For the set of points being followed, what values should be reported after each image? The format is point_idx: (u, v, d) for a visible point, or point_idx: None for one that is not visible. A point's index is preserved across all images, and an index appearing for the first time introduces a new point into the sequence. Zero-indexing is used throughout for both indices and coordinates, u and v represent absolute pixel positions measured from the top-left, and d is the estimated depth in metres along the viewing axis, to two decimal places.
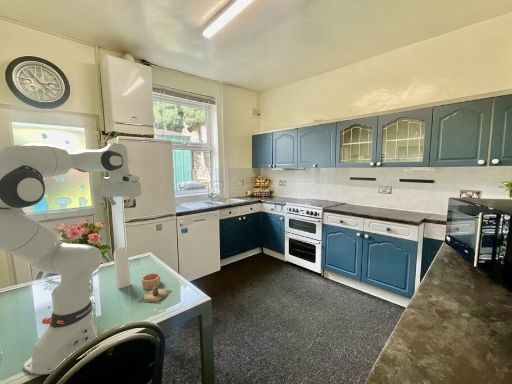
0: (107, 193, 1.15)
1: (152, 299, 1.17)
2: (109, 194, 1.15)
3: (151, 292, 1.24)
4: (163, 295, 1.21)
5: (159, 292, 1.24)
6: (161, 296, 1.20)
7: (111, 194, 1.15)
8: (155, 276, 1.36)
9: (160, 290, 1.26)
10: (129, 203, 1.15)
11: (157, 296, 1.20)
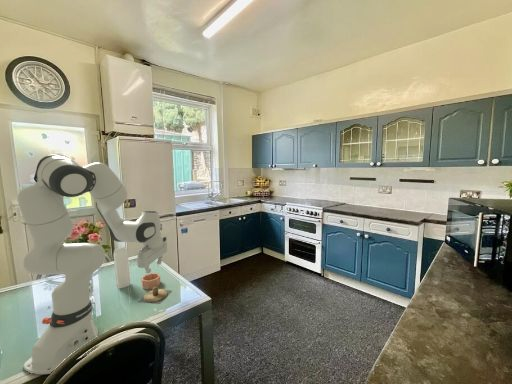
0: (149, 261, 1.13)
1: (152, 299, 1.17)
2: (150, 261, 1.14)
3: (151, 292, 1.24)
4: (163, 295, 1.21)
5: (159, 292, 1.24)
6: (161, 296, 1.20)
7: (152, 260, 1.15)
8: (155, 276, 1.36)
9: (160, 290, 1.26)
10: (160, 261, 1.25)
11: (157, 296, 1.20)
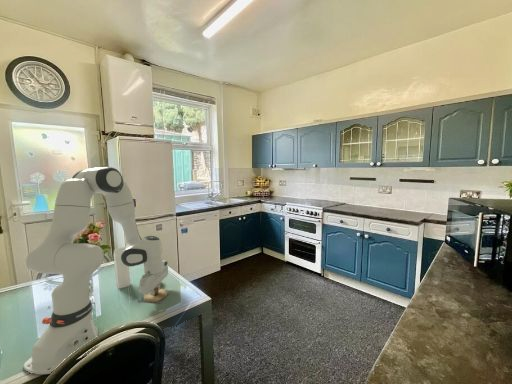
0: (151, 287, 1.15)
1: (152, 299, 1.17)
2: (152, 287, 1.16)
3: None
4: (163, 295, 1.21)
5: (159, 292, 1.24)
6: (161, 296, 1.20)
7: (153, 286, 1.17)
8: None
9: (160, 290, 1.26)
10: (159, 288, 1.23)
11: (157, 296, 1.20)
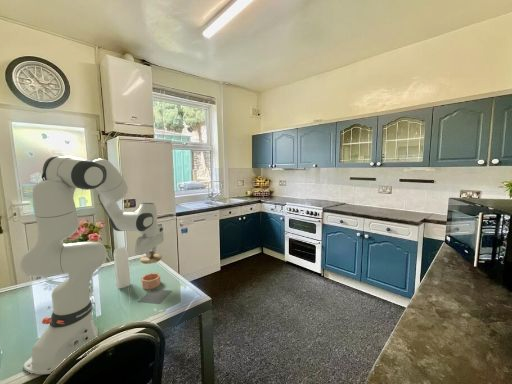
0: (146, 248, 1.23)
1: (148, 261, 1.25)
2: (147, 249, 1.24)
3: None
4: (158, 258, 1.29)
5: (154, 256, 1.32)
6: (156, 259, 1.28)
7: (149, 248, 1.25)
8: (155, 276, 1.36)
9: (156, 254, 1.33)
10: (154, 252, 1.31)
11: (152, 259, 1.28)
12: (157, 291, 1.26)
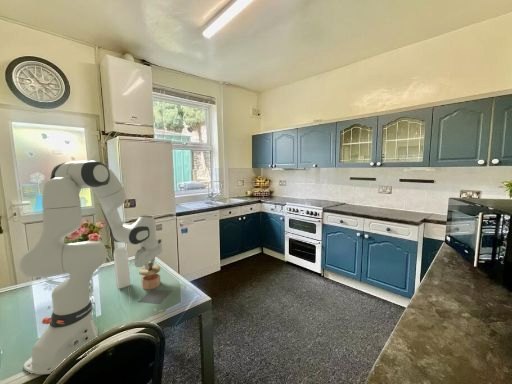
0: (145, 261, 1.25)
1: (146, 273, 1.28)
2: (146, 261, 1.26)
3: None
4: (157, 270, 1.31)
5: (153, 267, 1.34)
6: (155, 271, 1.30)
7: (148, 261, 1.27)
8: (155, 276, 1.36)
9: (154, 266, 1.36)
10: (153, 263, 1.34)
11: (151, 270, 1.30)
12: (157, 291, 1.26)
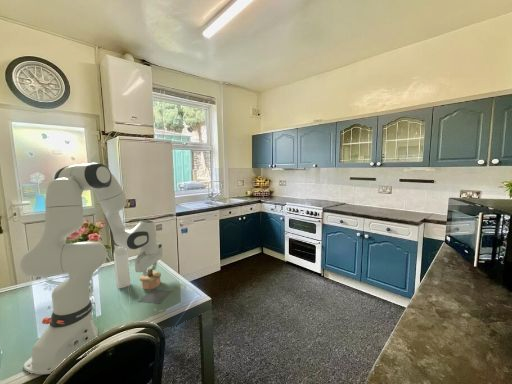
0: (146, 266, 1.25)
1: (147, 279, 1.28)
2: (147, 266, 1.26)
3: None
4: (157, 276, 1.31)
5: (154, 274, 1.34)
6: (155, 277, 1.31)
7: (148, 265, 1.27)
8: None
9: (155, 272, 1.36)
10: (155, 267, 1.36)
11: (152, 277, 1.31)
12: (157, 291, 1.26)
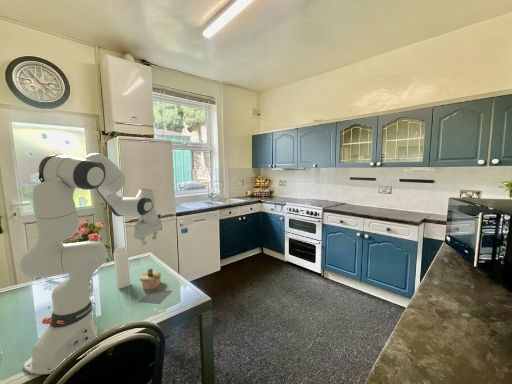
0: (145, 233, 1.26)
1: (147, 279, 1.28)
2: (146, 234, 1.27)
3: (146, 274, 1.34)
4: (157, 276, 1.31)
5: (154, 274, 1.34)
6: (155, 277, 1.31)
7: (147, 234, 1.28)
8: None
9: (155, 272, 1.36)
10: (155, 237, 1.37)
11: (152, 277, 1.31)
12: (157, 291, 1.26)
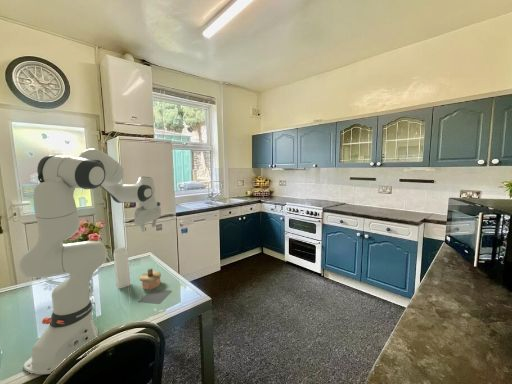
0: (145, 220, 1.29)
1: (147, 279, 1.28)
2: (146, 221, 1.30)
3: (146, 274, 1.34)
4: (157, 276, 1.31)
5: (154, 274, 1.34)
6: (155, 277, 1.31)
7: (147, 220, 1.31)
8: None
9: (155, 272, 1.36)
10: (155, 224, 1.40)
11: (152, 277, 1.31)
12: (157, 291, 1.26)
